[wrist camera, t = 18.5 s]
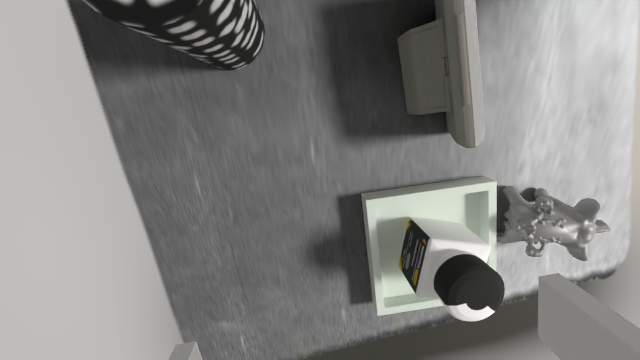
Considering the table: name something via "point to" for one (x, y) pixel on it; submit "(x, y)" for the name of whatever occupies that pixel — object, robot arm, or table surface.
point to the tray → (428, 203)
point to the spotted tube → (194, 26)
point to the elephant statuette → (550, 223)
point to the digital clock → (446, 70)
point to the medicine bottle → (451, 268)
